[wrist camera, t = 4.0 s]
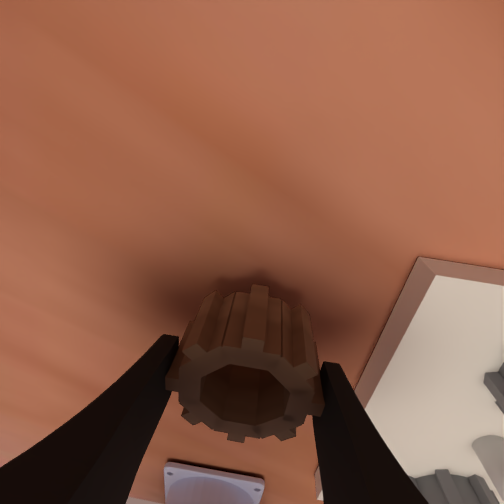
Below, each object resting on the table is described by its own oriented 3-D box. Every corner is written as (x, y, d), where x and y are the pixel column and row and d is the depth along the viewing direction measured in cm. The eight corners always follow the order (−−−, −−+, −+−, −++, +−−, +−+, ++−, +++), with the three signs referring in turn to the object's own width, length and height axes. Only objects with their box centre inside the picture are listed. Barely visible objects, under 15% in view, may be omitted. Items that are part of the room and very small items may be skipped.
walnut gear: (300, 388, 14) (305, 453, 11) (188, 368, 14) (166, 429, 11) (330, 296, 11) (345, 354, 8) (191, 274, 11) (163, 323, 9)
